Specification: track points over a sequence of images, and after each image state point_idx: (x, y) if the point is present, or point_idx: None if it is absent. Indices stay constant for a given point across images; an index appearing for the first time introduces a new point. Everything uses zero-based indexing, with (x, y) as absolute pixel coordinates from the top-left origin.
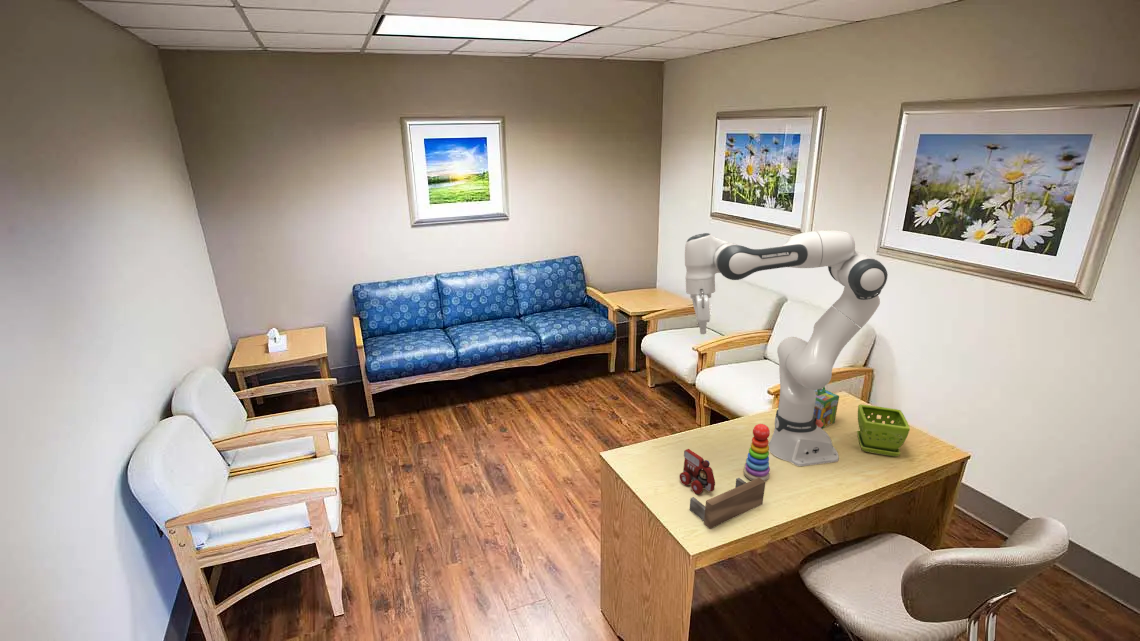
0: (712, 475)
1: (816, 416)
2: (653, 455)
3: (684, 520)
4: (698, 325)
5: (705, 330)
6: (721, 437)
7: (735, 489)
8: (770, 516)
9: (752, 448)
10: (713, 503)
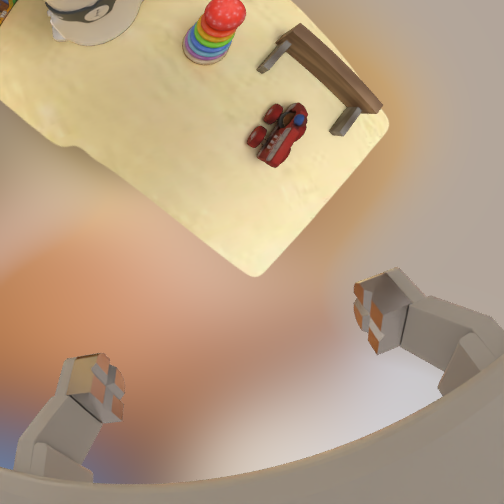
0: (302, 107)
1: (3, 2)
2: (216, 225)
3: (354, 138)
4: (124, 387)
5: (414, 288)
6: (97, 129)
7: (339, 69)
8: None
9: (229, 38)
10: (378, 102)
